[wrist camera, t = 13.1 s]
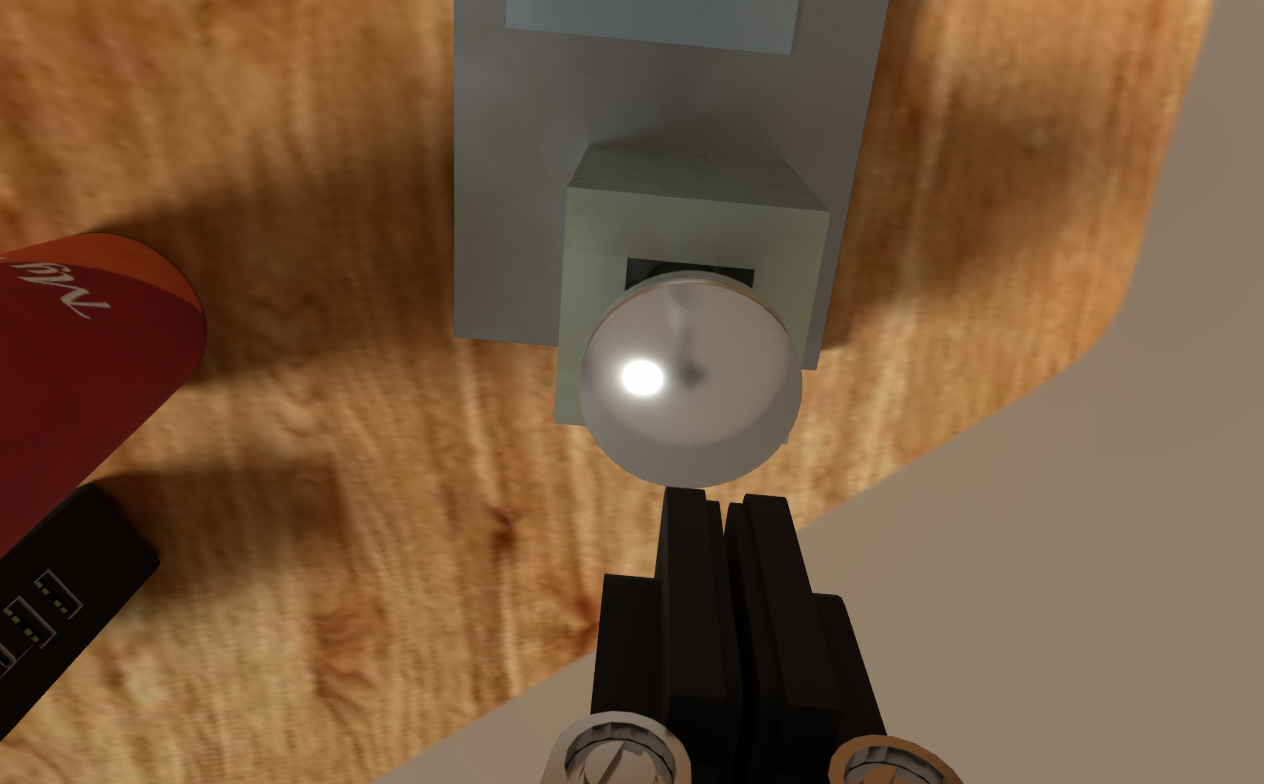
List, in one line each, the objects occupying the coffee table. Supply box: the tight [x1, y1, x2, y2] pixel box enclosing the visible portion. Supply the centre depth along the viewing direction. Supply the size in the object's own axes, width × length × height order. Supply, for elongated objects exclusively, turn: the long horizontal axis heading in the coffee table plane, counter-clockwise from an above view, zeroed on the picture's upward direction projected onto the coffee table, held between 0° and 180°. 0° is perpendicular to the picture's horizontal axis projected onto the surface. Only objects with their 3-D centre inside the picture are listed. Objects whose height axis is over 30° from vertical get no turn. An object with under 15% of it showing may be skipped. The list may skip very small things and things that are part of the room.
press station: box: [454, 0, 889, 444], centre depth 21 cm, size 20×12×8 cm, turn 175°
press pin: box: [579, 261, 802, 488], centre depth 19 cm, size 4×4×6 cm
